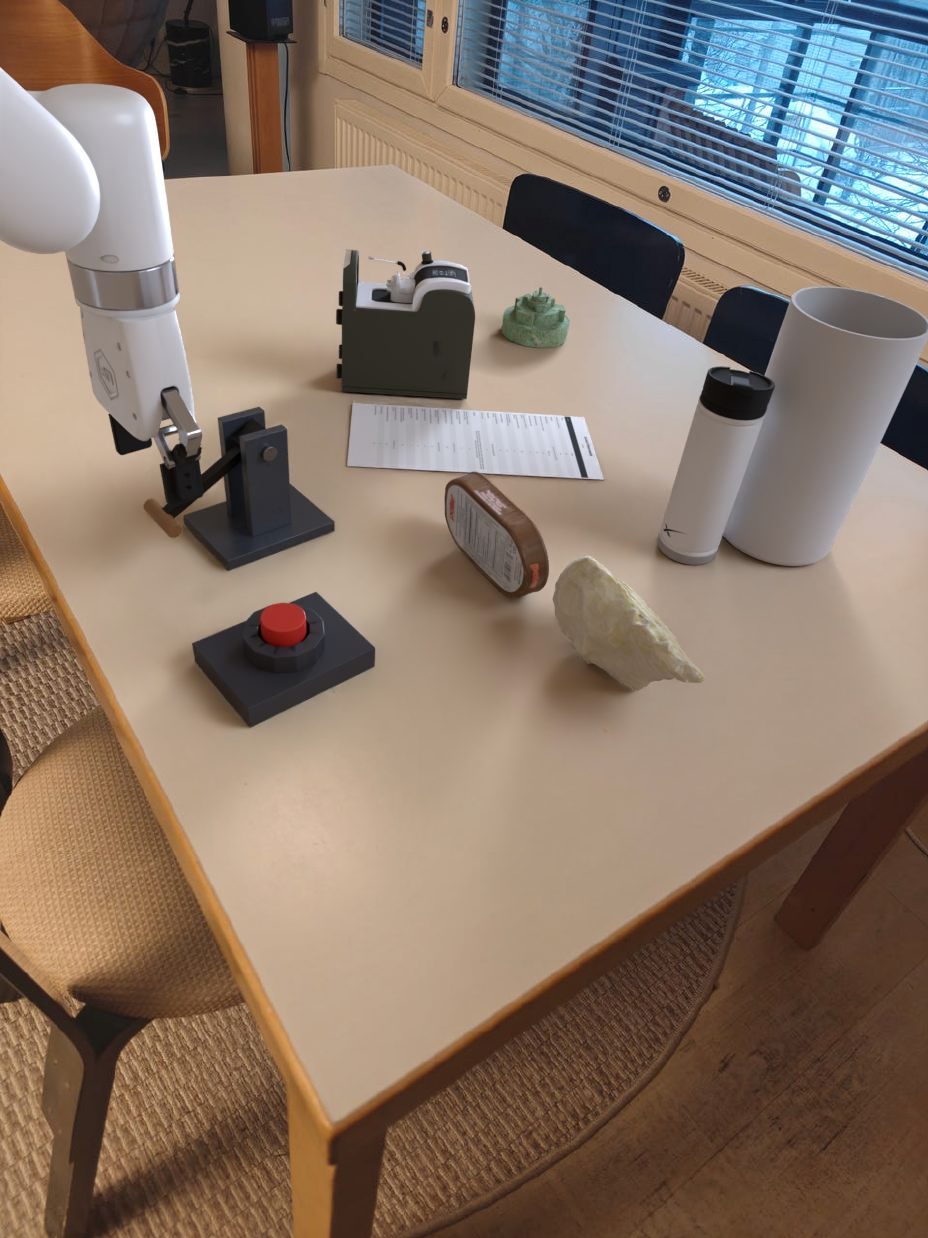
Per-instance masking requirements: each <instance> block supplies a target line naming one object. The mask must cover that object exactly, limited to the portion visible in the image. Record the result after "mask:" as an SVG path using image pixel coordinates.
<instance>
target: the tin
mask: <svg viewBox="0 0 928 1238" xmlns="http://www.w3.org/2000/svg"><path fill="white" fill-rule="evenodd" d="M444 517H445V518H444V519H445V522H446V525H447V528H448V530H449V533H450V535H451V537H452V539H453V541H454V543H455V544H456V546H457V547H458V548H459V550H460V551H461V552H462V553H463V554H464V555H465V556H466V557H467V558H468V559H469V560H470V561H471V562H472V563H473V565H474V566H476V567H477V569H478V570H479V571H480V572H481V573H482V574H483V575H484V576H485V577H486V578H487V579H488V580H489V581H490V582H491V583H492V584H493V586H495V587H496V589H497V590H498V591H499V592H500V593H502V594H503V595H504V596H506V597H508V598H511V599H517V598H518V599H519V598H522V597H525V596H528V595H530V594H532V593H537V592H540V591H542V590H543V589H544V588H545V587H546V585H547V583H548V580H549V575H550V560H549V554H548V550H547V545H546V543H545V541H544V538H543V536H542V534H541V532H540V530H539V527H538V526H537V525H536V523H535V522H534V521H533V519H531V517H530V516H529V515H528V514H527V513H526V512H525V511H524V510H522V509H521V508H520V506H519V505H517V504H516V503H515V502H514V501H513V500H511V498H510V497H508V495H506V494H505V493H504V492H503V491H502V490H501V489H500V488H499V487H498V486H497V485H496V484H494V483H493V482H492V480H490V479H489V477H487V476H486V475H485V474H482V473H479V472H470V473H466V474H463V475H461V476H458V477H455V478H452V479H451V480H449V481H448V483H447V484H446V485H445V489H444Z"/></svg>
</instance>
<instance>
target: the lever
mask: <svg viewBox="0 0 928 1238" xmlns="http://www.w3.org/2000/svg"><path fill="white" fill-rule="evenodd" d="M264 429H267V427H266V428H265V427H264V426H263V425H261V424H260V423H259V422H258V421H256V420H255V419H254V418H252V419H251V420H249V421H248V422H247V423H246V424H245V425H243V426H242V427H241V428H240V429H239V430H238V431H236V432H235V433H234V434H233V435H232V436H231V438H232V440H233V441H234V442H235V444H236V445H235V446H234V447H233V448H232V449H231V450H229V451H228V452H227V453H226V454H225V455H223V456H222V457H220V458H218V460H216V461H215V462H214V463H213V464H211V466H209V467H208V468H207V469H206V470H205V471H203V472H201V476H202V484H203V491H204V494H206V492H208V490H210V489H212V487H213V486H214V485H215V484H217V483H218V482H219V481H220V480H222V479H224V476H225V475H226V474H227V473H228V472H230V471H231V470H232V469H233V468H234V467H235V466H237V465H238V464H239V463H240V462H241V449H240V438H239V437H240V436H243V435H246V434H250V433H253V432H257V431H260V430H264ZM197 500H198V499H195V500H192V501H189V502H186V503H183V504H180V505H177V506H174V507H171V506H169V505H168V504H167V503H166V504H165V505H162V504H161V503H160V502H159V501H158V500H157V499H155V498H148V499H146V500H145V501H144V503H143V506H142V507H143V510H144V512H145V513H146V514H147V515H148V516H149V517H150V518H151V519H152V520H153V521H154V522H155V523H156V524H157V526H159V528H160V529H161V530H163V532H165V535H167V536H168V537H169V538H171V539H176V538H178V537H180V536H181V535H182V534H183V526H182V525H181V524H180V522H178V520H177V519H176V518H178V517H179V516H180V515H181V514H182V513H183V512H184V511H186V510H187V509H188V508H189V507H190V506H191V505H193V504H194V503H195V502H196V501H197Z"/></svg>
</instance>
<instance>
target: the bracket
mask: <svg viewBox="0 0 928 1238" xmlns="http://www.w3.org/2000/svg"><path fill="white" fill-rule="evenodd" d="M252 418H254V419H255V420H256V421H258V422H259V423H260V424H261V425H263V426H264V427H265V428H266V429H264V430H260V431H257V432H253V433H250V434H246V435H243V436H240V437H239V438H240V449H241V462H240V463H239V464H238V465H237V466H235V467H234V468H233V469H232V470H231V471H230V472H228V473H227V474H226V475H225V476H224V477H223V485H224V494H225V500H224V501H222V502H219V503H216V504H213V505H209V506H207V507H204V508H201V509H197V510H194V511H191V512H188V513H185V514H183V515H182V521H183V526H184V527H185V528H186V529H187V530H188V531H189V532H190V533H191V534H192V535H193V536H194V537H195V538H196V539H197V540H198V541H199V542H200V543H201V545H203V546H204V547H205V548H206V550H208V552H210V553H211V554H212V555H213V556H214V558H215V559H216V560H218V562H219V563H221V565H222V566H223V567H224V568H225V569H226V570H227V571H228V572H230V571H233V570H235V569H238V568H240V567H243V566H246V565H248V564H251V563H253V562H256V561H259V560H261V559H265V558H266V557H270V556H272V555H274V554H277V553H280V552H282V551H286V550H287V549H291V548H293V547H296V546H299V545H301V544H304V543H307V542H309V541H312V540H315V539H317V538H320V537H323V536H326V535H328V534H331V533H333V532H335V531H336V530H335V529H336V527H335V526H336V525H335V520H333V518H331V517H330V516H329V515H328V514H326V512H324V511H323V510H322V509H320V507H318V506H317V505H316V504H315V503H313V502H312V501H311V500H310V499H309V498H308V497H307V496H306V495H304V494H303V493H302V492H301V491H300V490H298V489H297V488H296V487H295V486H294V485H293V484H292V483H291V482H290V461H289V439H288V438H289V437H288V436H289V435H288V428H287V427H286V426H285V425H283V424H281V423H280V424H278V425H274V426H271V427H266V411H265V409H264V408H263V407H261V406H257V407H252V408H249V409H244V410H241V411H237V412H234V413H230V414H226V415H222V416H218V417H217V427H218V436H219V446H220V456H221V457H222V456H223V455H225V454H226V453H227V452H228V451H229V450H231V449H232V448H233V447H234V446H235V445H236V444H235V442H234V441H233V440H232V438H231V436H232V435H233V434H234V433H235V432H236V431H238V430H239V429H240V428H241V427H242V426H243V425H245V424H246V423H247V422H248V421H249V420H251V419H252ZM221 457H220V458H221Z"/></svg>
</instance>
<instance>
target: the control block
mask: <svg viewBox="0 0 928 1238" xmlns="http://www.w3.org/2000/svg"><path fill="white" fill-rule="evenodd" d="M289 603H291V604H294V605H297V606H299V607H300V608H301V609H302V610H303V611H304V612H305V615H306V636H305V638H304V639H303V640H302V641H301V642H300V643H298V644H296V645H293V646H289V647H275V646H272V645H270V644H268V643H267V642H265V641H264V639H263V638H262V634H261V622H260V616H261V614H262V612H263V611H264V610H265V609H266V608H267V607H269V606H271V605H273V604H274V603H273V604H270V605H267V606H264V607H262V608H260V609H258V610H256V611H254V612H253V613H252V614H250V616H249V617H248V618H247V619H246V620H244V621H242V622H240V623H237V624H234V625H232V626H230V627H228V628H225V629H222V630H221V631H218V632H215V633H213V634H211V635H208V636H206V637H203V638H201V639H199V640H196V641H194V642H192V643H191V644H192V652H193V659H194V663H195V665H196V666H198V668H199V669H200V670H201V671H202V673H203V674H204V675H205V676H206V677H207V679H208V680H209V682H210V683H212V684H213V686H214V687H215V688H216V689H217V691H218V692H219V693H220V694H221V696H223V698H224V699H225V700H226V702H227V703H228V704H229V705H230V706H231V708H232V709H234V711H235V712H236V714H238V715H239V717H240V718H241V719H242V720H243V722H244V723H245V724H246V725H247V726H248V727H249V728H253V727H254V726H257V725H259V724H261V723H263V722H265V721H267V720H268V719H271V718H273V717H275V716H278V715H279V714H281V713H283V712H285V711H287V710H289V709H291V708H293V707H295V706H297V705H299V704H302V703H303V702H305V701H307V700H310V699H311V698H314V697H316V696H317V695H320V694H322V693H324V692H326V691H328V690H330V689H332V688H334V687H336V686H338V685H340V684H342V683H344V682H346V681H348V680H351V679H353V678H354V677H356V676H359V675H360V674H363V673H365V672H366V671H368V670H370V669H372V668H374V667H376V647H375V646H374V645H373V644H372V643H371V642H370V641H369V640H368V639H367V638H366V637H364V635H362V634H361V633H360V631H358V630H357V629H356V628H355V626H353V625H352V624H351V623H350V622H349V621H348V620H347V618H346V619H345V617H343V615H342V614H341V613H340V612H339V611H337V610H336V609H335V608H334V607H333V606H332V605H331V604H330V603H329V602H328V601H327V600H326V599H325V598H323V596H322V595H321V594H320V593H318V591H314V592H312V593H309V594H307V595H305V596H302V597H299V598H298V599H295V600H292V601H289Z"/></svg>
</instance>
